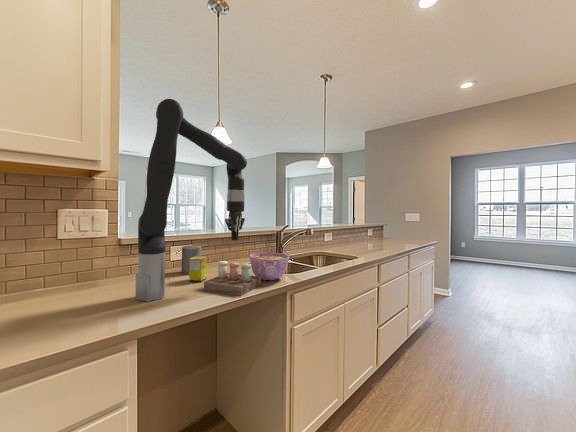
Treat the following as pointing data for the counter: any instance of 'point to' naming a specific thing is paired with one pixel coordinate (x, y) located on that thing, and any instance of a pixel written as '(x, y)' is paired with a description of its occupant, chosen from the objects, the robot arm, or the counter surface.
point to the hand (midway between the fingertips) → (234, 239)
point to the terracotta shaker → (234, 270)
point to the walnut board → (232, 285)
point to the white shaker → (222, 269)
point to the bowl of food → (269, 265)
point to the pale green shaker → (246, 272)
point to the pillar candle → (189, 256)
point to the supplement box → (197, 269)
